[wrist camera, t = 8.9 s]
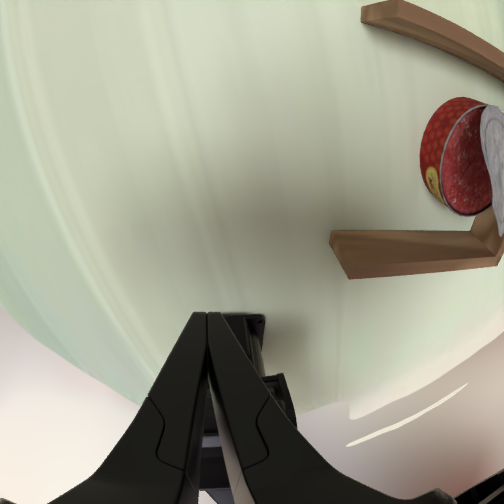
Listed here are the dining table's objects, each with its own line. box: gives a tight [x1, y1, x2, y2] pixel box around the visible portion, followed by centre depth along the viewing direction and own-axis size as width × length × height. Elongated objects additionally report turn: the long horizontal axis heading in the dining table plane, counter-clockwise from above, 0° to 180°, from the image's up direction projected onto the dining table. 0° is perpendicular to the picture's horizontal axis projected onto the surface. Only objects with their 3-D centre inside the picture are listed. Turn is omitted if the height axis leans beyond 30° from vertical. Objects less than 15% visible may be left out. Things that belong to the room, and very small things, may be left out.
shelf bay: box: [329, 0, 504, 279], centre depth 18 cm, size 18×18×4 cm
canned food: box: [420, 97, 504, 237], centre depth 18 cm, size 11×10×10 cm
